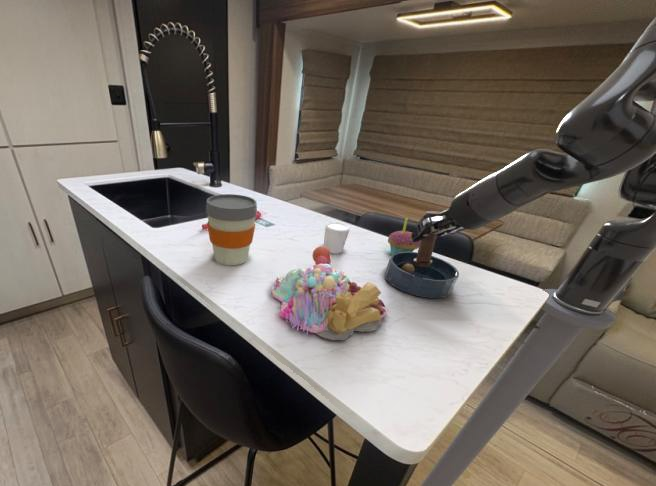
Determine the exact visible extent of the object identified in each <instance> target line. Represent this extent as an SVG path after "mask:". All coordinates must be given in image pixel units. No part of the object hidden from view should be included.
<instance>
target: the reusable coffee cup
mask: <svg viewBox="0 0 656 486" xmlns="http://www.w3.org/2000/svg"><path fill="white" fill-rule="evenodd" d="M257 204H258V203H257V200H256V199H254V198H253V197H251V196H246V195H242V194H235V193H233V194H232V193H225V194H224V193H222V194H216V195H211V196H209V197H208V198H206V206H205V207H206V208H205V214H206V215H207V222H206V223H207V226H208V229H207V230H208V237H209V241H210V243H211V245H212V253H213V258H214V261H216V262H217V263H218V264H222V265H226V266H238V265H242V264H244V263H246V262H247V261H248V258H249V254H250V247H251V245H252V243H253V240H254V235H255V229H256V223H255V220H256V219H255V217H256V215H257V211H258V205H257Z"/></svg>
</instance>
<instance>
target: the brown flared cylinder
mask: <svg viewBox="0 0 656 486" xmlns="http://www.w3.org/2000/svg"><path fill="white" fill-rule="evenodd" d="M441 212H442V211H438V210H429V211H426V214H430V216H431V217H435V216H437V215H439V214H440V213H441ZM426 214H425V215H426ZM429 231H431V228H430V229H429ZM436 236H437V234H431V235H429V236H427V237H425V238H423V239H422V240H420V244H419V247H418V249H417V257H416V258H414V260H413V264H414V265H416V266H419V267H431V266H432V263H433V261H432V260H431V256H433V252H434V248H435V245H436V240H437V238H436Z"/></svg>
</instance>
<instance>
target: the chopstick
mask: <svg viewBox="0 0 656 486" xmlns="http://www.w3.org/2000/svg"><path fill="white" fill-rule="evenodd" d="M261 216H262V213H261V212H260V211H259V210H257V215H256V217H255V220H256V219H259V218H261ZM207 223H208V222H206V223H202V224H201V231H205V230H208V226H207Z"/></svg>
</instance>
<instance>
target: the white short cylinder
mask: <svg viewBox="0 0 656 486" xmlns="http://www.w3.org/2000/svg"><path fill="white" fill-rule="evenodd" d="M349 233H350V227H349V226H348V225H346V224H344V223H340V222H329V223H326V224H325V226H324V236H323V246H324V247H326V248H328V250H329V251H330V254H341V253H342V252H343V251H344V247H345V245H346V241H347V239H348V236H349Z"/></svg>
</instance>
